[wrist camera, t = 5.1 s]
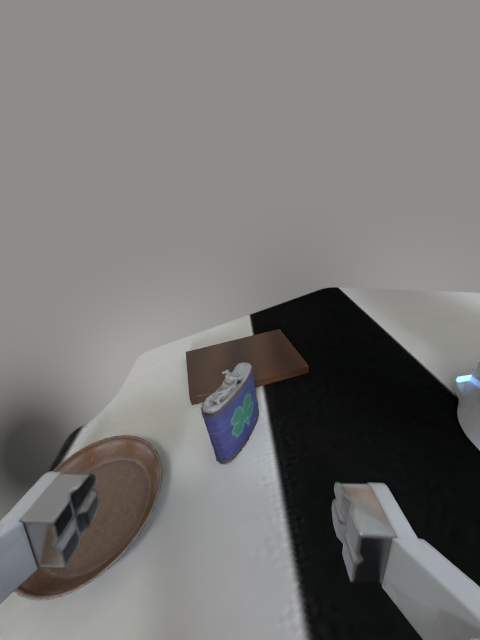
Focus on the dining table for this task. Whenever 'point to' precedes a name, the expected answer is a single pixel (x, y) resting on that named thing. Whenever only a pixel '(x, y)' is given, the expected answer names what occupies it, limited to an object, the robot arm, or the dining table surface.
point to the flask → (231, 413)
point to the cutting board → (258, 350)
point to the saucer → (104, 512)
